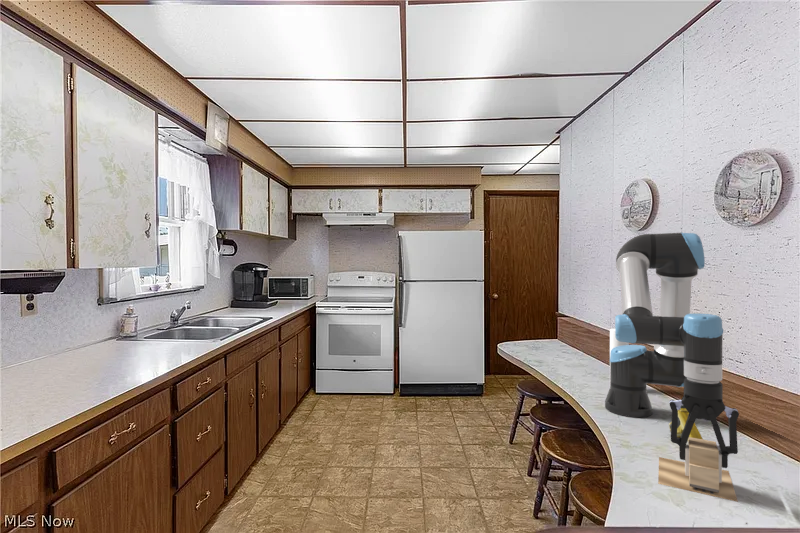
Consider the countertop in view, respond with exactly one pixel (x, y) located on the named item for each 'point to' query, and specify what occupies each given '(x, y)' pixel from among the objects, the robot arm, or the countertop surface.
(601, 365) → the countertop surface
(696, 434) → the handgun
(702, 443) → the block
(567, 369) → the countertop surface
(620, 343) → the cylindrical container
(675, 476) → the board
